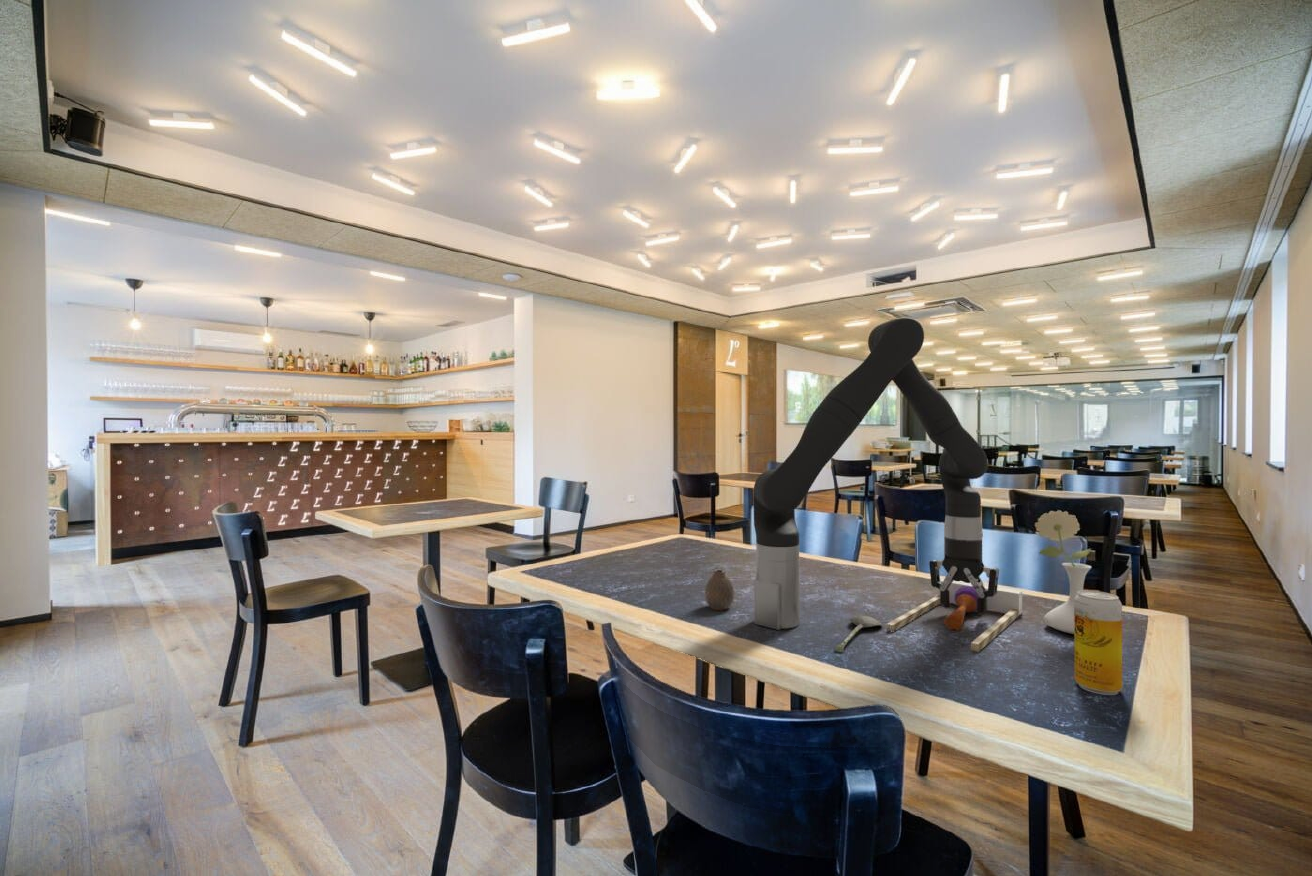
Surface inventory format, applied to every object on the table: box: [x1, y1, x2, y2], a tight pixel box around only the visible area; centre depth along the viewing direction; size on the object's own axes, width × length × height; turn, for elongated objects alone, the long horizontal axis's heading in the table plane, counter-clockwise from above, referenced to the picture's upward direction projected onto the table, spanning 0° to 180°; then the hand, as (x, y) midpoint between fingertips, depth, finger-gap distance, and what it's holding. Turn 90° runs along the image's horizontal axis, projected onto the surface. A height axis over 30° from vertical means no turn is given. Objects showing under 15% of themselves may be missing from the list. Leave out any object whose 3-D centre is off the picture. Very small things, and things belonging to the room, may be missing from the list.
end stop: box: [937, 578, 1023, 616], centre depth 137 cm, size 3×17×5 cm, turn 46°
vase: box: [704, 569, 735, 611], centre depth 137 cm, size 7×7×9 cm
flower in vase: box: [1034, 509, 1092, 635], centre depth 120 cm, size 13×11×25 cm
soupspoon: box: [834, 615, 883, 653], centre depth 117 cm, size 22×3×7 cm
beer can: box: [1073, 590, 1123, 696], centre depth 92 cm, size 6×6×15 cm
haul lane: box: [886, 594, 1020, 653], centre depth 125 cm, size 31×17×2 cm, turn 136°
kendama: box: [944, 586, 979, 631], centre depth 129 cm, size 6×6×20 cm
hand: (963, 610), depth 129 cm, fingers open, 6 cm apart
